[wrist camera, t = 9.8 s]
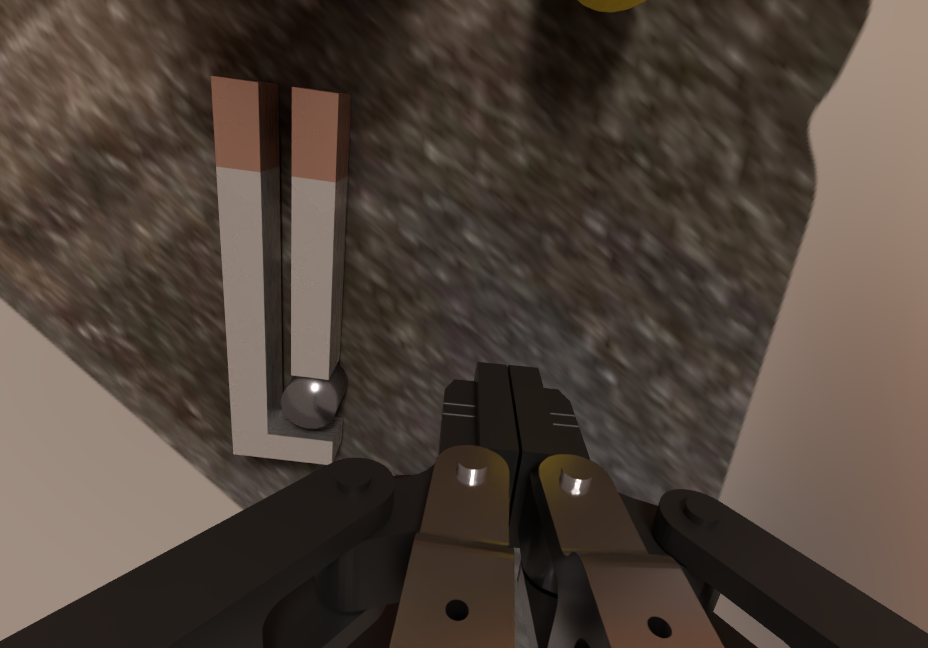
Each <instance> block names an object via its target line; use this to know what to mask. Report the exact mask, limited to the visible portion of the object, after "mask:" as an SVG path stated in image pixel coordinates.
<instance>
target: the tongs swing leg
mask: <svg viewBox="0 0 928 648" xmlns="http://www.w3.org/2000/svg"><path fill="white" fill-rule="evenodd" d="M350 114H351V94H345V93H338V92H331V91H325V90H318V89H311V88H300V87H292V253H291V375H293V376H294V377H293V379H292V380H291V382H290V383H289V385H288V386H287V388H286V389H285V391H284V393H283V395H282V398H281V407H282V410H283V412H284V414H285V415H286V417H287V418H288V419H289V420H290V421H291V422H293V423H294V424H296V425H298V426H300V427H303V428H309V429H316V428H320V427H323V426H325V425H327V424H328V423H330V422H331V420H332V419H333V418H334V416H335V413H336V411H337V409H338V407H339V404H340V402H341V400H342V398H343V396H344V393H345V391H346V389H347V385H348V380H347V375H346V373H345V371H344V370H343V368H342V367H341V366H340V365H339V364H337V363H338V361H339V359H340V342H341V319H342V296H343V273H344V251H345V228H346V205H347V182H348V160H349V137H350Z"/></svg>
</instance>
